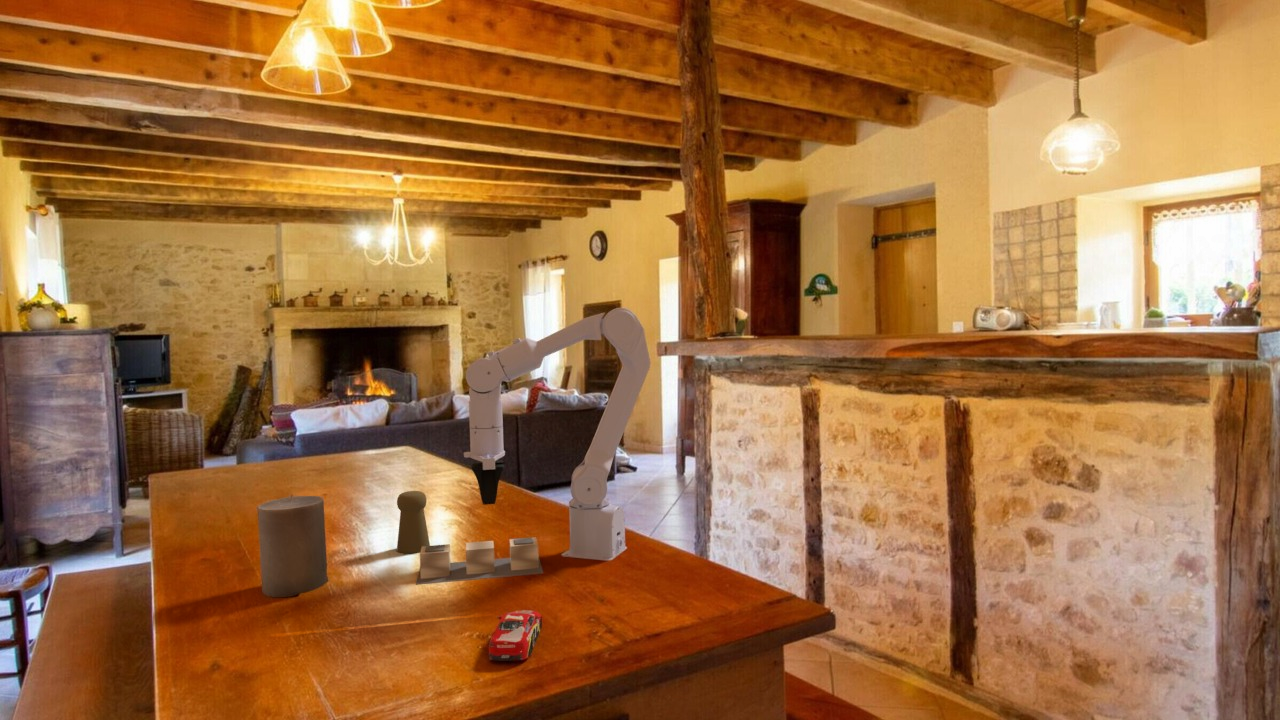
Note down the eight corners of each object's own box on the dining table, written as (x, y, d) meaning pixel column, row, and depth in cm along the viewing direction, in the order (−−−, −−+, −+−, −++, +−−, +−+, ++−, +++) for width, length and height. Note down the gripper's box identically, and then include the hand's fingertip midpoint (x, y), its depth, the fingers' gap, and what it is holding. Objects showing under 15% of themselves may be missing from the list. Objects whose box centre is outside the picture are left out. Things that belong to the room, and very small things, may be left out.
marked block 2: (536, 560, 131) (535, 536, 130) (538, 568, 126) (538, 543, 126) (510, 562, 130) (509, 538, 129) (511, 570, 125) (510, 545, 125)
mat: (538, 557, 133) (538, 555, 133) (543, 575, 124) (543, 573, 124) (420, 567, 129) (420, 565, 129) (416, 586, 119) (415, 584, 119)
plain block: (494, 563, 129) (493, 540, 129) (494, 572, 125) (493, 548, 124) (466, 566, 128) (466, 542, 128) (466, 574, 124) (465, 550, 124)
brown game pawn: (420, 556, 135) (418, 495, 135) (389, 555, 137) (387, 495, 136) (436, 547, 141) (434, 488, 141) (406, 545, 143) (404, 488, 142)
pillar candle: (341, 580, 124) (337, 488, 123) (296, 600, 114) (291, 501, 114) (294, 575, 127) (289, 486, 126) (246, 595, 118) (241, 499, 117)
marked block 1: (450, 567, 127) (449, 543, 127) (449, 576, 123) (448, 550, 123) (422, 570, 126) (421, 545, 126) (420, 578, 122) (419, 553, 122)
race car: (506, 625, 104) (506, 596, 104) (546, 625, 104) (545, 596, 104) (481, 667, 91) (481, 634, 91) (526, 667, 91) (525, 634, 90)
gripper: (462, 423, 139) (465, 496, 140) (463, 433, 125) (465, 514, 126) (501, 421, 141) (504, 493, 141) (506, 431, 127) (509, 511, 127)
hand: (488, 503), depth 133 cm, fingers closed
